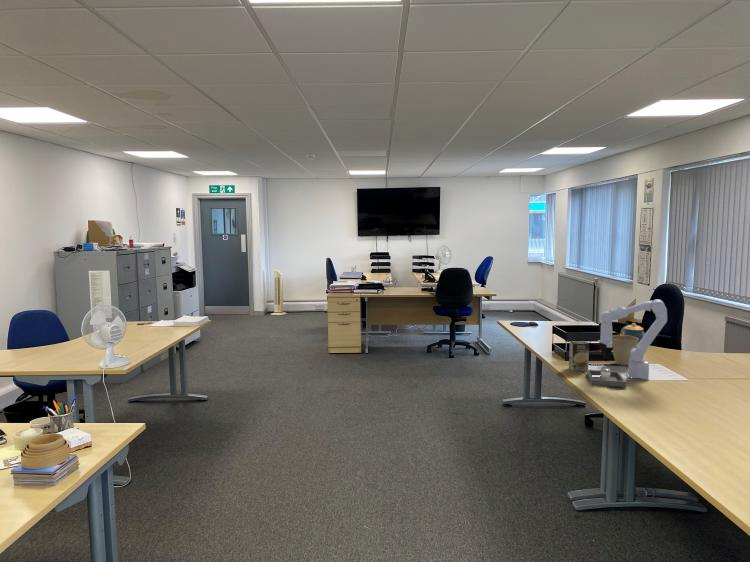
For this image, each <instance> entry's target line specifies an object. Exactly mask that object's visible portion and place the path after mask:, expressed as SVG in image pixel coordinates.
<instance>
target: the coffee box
mask: <svg viewBox="0 0 750 562" xmlns="http://www.w3.org/2000/svg"><path fill="white" fill-rule="evenodd" d="M568 357H569V358H568V369H570V370H571V371H572V372H583V371H582V370H589V361H590V360H589V357H590V343H589V342H587V341H577V340H576V341H575V340H572V341H571V340H570V341H569V354H568Z"/></svg>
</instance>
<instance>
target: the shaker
mask: <svg viewBox="0 0 750 562" xmlns="http://www.w3.org/2000/svg"><path fill="white" fill-rule="evenodd" d="M600 371H601V380H610V371H611V368H608V367H601V368H600Z"/></svg>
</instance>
